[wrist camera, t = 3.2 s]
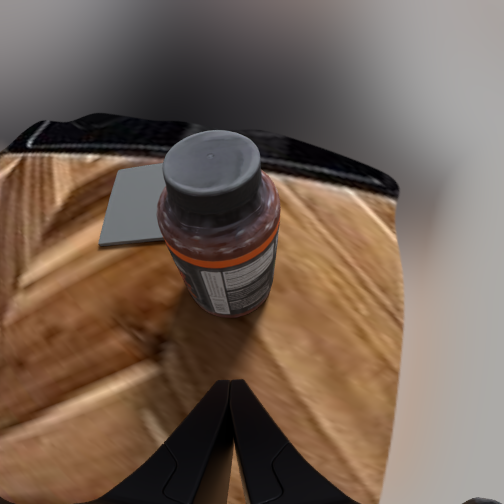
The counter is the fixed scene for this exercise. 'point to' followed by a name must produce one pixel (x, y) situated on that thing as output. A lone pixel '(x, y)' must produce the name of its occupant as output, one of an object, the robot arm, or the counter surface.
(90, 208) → the counter surface
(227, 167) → the supplement bottle
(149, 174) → the pad
